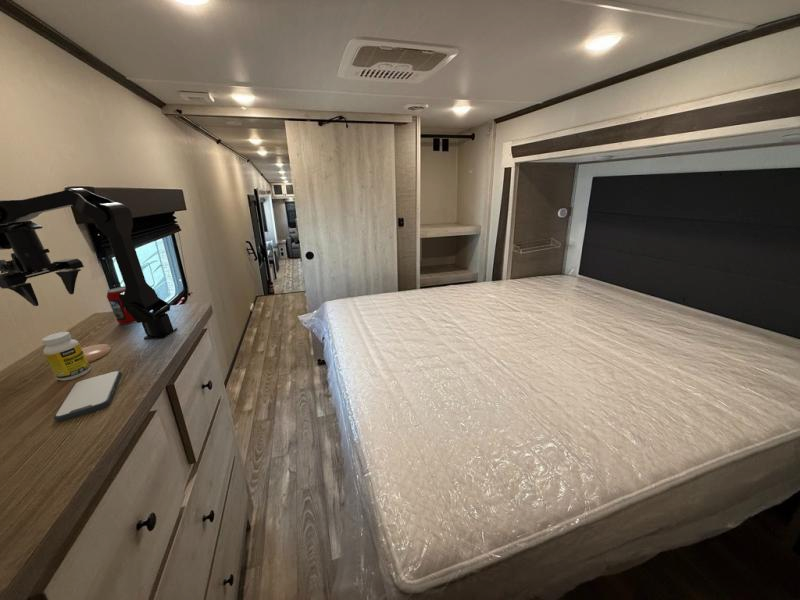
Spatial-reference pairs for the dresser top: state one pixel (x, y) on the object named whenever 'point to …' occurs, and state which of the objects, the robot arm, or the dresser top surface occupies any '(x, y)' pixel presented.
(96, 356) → the tan round disc
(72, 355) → the pill bottle
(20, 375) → the dresser top surface
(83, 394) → the phone case
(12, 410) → the dresser top surface
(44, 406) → the dresser top surface
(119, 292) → the beverage can
